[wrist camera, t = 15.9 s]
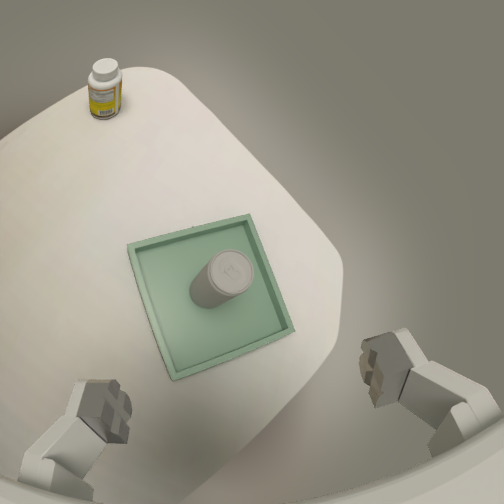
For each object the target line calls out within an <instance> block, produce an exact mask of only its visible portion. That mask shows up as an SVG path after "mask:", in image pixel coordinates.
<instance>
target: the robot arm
mask: <svg viewBox="0 0 504 504" xmlns="http://www.w3.org/2000/svg"><path fill="white" fill-rule="evenodd" d="M361 349H362V351H363V354H362V355H361V356H360V359H359V367H360V373H361V376H362V379H363V381H364V383H366V384H367V385H369V386H370V388H369V395H370V398H371V400H372V403H373V405H374V407H375V408H378V407H381V406H385V405H388V404H391V403H394V402H397V401H398V403H400V404H401V405H402V406H404V407H405V408H407V409H408V410H409V411H411V412H412V413H413V414H415V415H416V416H418V417H419V418H420V419H422V420H423V421H425V422H426V423H427V424H429V425H430V426H431V427H433V428H434V429H436V432H435V433H434V434H433V436H432V437H431V438H430V440H429V442H428V444H427V446H428V448H429V450H430V453H431V455H432V458H431V459H429V460H426V461H424V462H422V463H420V464H417V465H415V466H413V467H410V468H408V469H405V470H403V471H401V472H398V473H395V474H393V475H390V476H387V477H385V478H382V479H379V480H376V481H373V482H370V483H367V484H364V485H361V486H358V487H354V488H351V489H347V490H344V491H340V492H336V493H333V494H328V495H324V496H320V497H315V498H311V499H306V500H301V501H296V502H290V503H284V504H504V416H503V414H502V412H501V410H500V409H499V407H498V406H497V404H496V402H495V401H494V399H493V397H492V396H491V394H490V392H489V391H488V389H487V388H486V387H484V386H482V385H480V384H478V383H476V382H474V381H472V380H470V379H468V378H466V377H464V376H462V375H460V374H458V373H456V372H454V371H452V370H450V369H448V368H446V367H444V366H442V365H440V364H438V363H436V362H434V361H430V362H428V360H427V359H426V357H425V355H424V354H423V353H422V351H421V349H420V348H419V346H418V344H417V343H416V341H415V340H414V338H413V337H412V335H411V334H410V332H409V331H408V329H406V328H402V329H398V330H395V331H392V332H388V333H384V334H381V335H378V336H374V337H371V338H367V339H364V340H363V341H362V344H361ZM131 415H132V405H131V401H130V398H129V396H128V395H127V394H126V393H125V392H123V391H121V390H120V384H119V383H118V382H117V381H116V380H77V381H76V382H75V384H74V387H73V390H72V393H71V396H70V399H69V403H68V406H67V409H66V412H65V415H64V416H61V417H60V418H59V419H58V420H57V421H56V422H55V423H54V424H53V425H52V426H51V427H50V428H49V429H48V430H47V431H46V432H45V433H44V434H43V435H42V436H41V437H40V438H39V439H38V440H37V441H36V442H35V443H34V444H33V445H32V446H31V447H30V448H29V449H28V450H27V451H26V452H25V454H24V458H23V462H22V465H21V469H20V473H19V477H18V481H15V480H13V479H10V478H7V477H5V476H2V475H0V504H103V503H97V502H92V499H93V490H94V489H93V487H92V486H91V485H89V484H88V483H86V482H85V481H83V480H82V479H83V478H84V476H85V475H86V474H87V472H88V471H89V469H90V468H91V467H92V465H93V464H94V462H95V461H96V459H97V458H98V457H99V455H100V454H101V452H102V451H103V450H104V448H105V447H106V445H107V443H117V444H127V441H128V434H129V426H128V425H127V422H128V420H129V419H130V418H131Z"/></svg>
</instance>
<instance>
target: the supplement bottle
mask: <svg viewBox="0 0 504 504" xmlns="http://www.w3.org/2000/svg"><path fill="white" fill-rule="evenodd" d="M121 88H122V72H121V70H120V69H118V63H117V62H116V60H114V59H110V58H105V59H101V60H99V61H97V62H96V63H95V64H94V65H93V71H92V72H91V73H90V75H89V77H88V90H89V104H90V112H91V114H92V115H93V116H94V117H96V118H99V119H107V118H110V117H113V116H114V115H116V114H117V113H118V111H119V110H120V106H121Z"/></svg>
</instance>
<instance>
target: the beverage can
mask: <svg viewBox="0 0 504 504" xmlns="http://www.w3.org/2000/svg"><path fill="white" fill-rule="evenodd" d="M253 278H254V269H253V265H252V263H251V261H250V259H249V258H248V257H247V256H246V255H245V254H243V253H242V252H240V251H238V250H233V249H227V250H223V251H221V252H218V253H217V254H215V255H214V256H213V257H212V258H211V259H210V260H209V262H208V263H207V264H206V265H205V266H204V267H203V269H202V270H201V271H200V272H199V273H198V275H197V276H196V277H195V278H194V279H193V281H192V282H191V285H190V296H191V298H192V300H193V302H194V303H195V304H196V305H198V306H200V307H203V308H208V309H210V308H215V307H217V306H219V305H221V304H223V303H225V302H227V301H228V300H230V299H232V298H234V297H236V296H238V295H240V294H242V293H244V292H245V291H246V290H247V289H248V288H249V286H250V285H251V283H252V281H253Z"/></svg>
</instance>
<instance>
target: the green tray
mask: <svg viewBox="0 0 504 504" xmlns="http://www.w3.org/2000/svg"><path fill="white" fill-rule="evenodd" d="M227 249H233V250H238V251H240V252H242V253H243V254H245V255H246V256H247V257H248V258H249V259H250V261H251V263H252V265H253V269H254V278H253V281H252V283H251V285H250V286H249V288H248V289H247V290H246V291H245V292H244V293H242V294H240V295H238V296H236V297H234V298H232V299H230V300H228V301H227V302H225V303H223V304H221V305H219V306H217V307H215V308H210V309H208V308H203V307H200V306H198V305H196V304H195V303H194V302H193V300H192V298H191V296H190V285H191V282H192V281H193V279H194V278H195V277H196V276H197V275H198V273H199V272H200V271H201V270H202V269H203V267H204V266H205V265H206V264H207V263H208V262H209V260H210V259H211V258H212V257H213V256H214V255H215V254H217V253H218V252H221V251H223V250H227ZM127 251H128V254H129V258H130V262H131V265H132V269H133V272H134V275H135V279H136V282H137V285H138V289H139V292H140V295H141V298H142V301H143V304H144V308H145V311H146V314H147V317H148V319H149V322H150V325H151V328H152V331H153V334H154V337H155V339H156V342H157V345H158V348H159V350H160V353H161V355H162V358H163V361H164V363H165V366H166V368H167V371H168V373H169V376H170V378H171V380H172V381H175V380H177V379H180V378H183V377H186V376H188V375H191V374H194V373H197V372H199V371H202V370H204V369H207V368H210V367H212V366H215V365H217V364H220V363H222V362H225V361H227V360H230V359H232V358H235V357H237V356H240V355H242V354H245V353H247V352H249V351H252V350H254V349H256V348H259V347H261V346H263V345H266V344H268V343H270V342H272V341H275V340H277V339H279V338H281V337H284V336H286V335H288V334H290V333H292V332H295V329H294V327H293V324H292V321H291V319H290V316H289V313H288V311H287V308H286V305H285V303H284V300H283V298H282V295H281V292H280V290H279V287H278V285H277V282H276V279H275V277H274V274H273V272H272V269H271V266H270V264H269V261H268V259H267V256H266V254H265V251H264V248H263V246H262V243H261V241H260V238H259V236H258V233H257V230H256V228H255V225H254V223H253V220H252V218H251V215H250V214H246V215H242V216H237V217H233V218H229V219H225V220H220V221H216V222H212V223H208V224H204V225H200V226H196V227H192V228H188V229H184V230H180V231H176V232H172V233H168V234H164V235H161V236H157V237H153V238H149V239H145V240H142V241H138V242H134V243H130V244H127Z"/></svg>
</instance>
